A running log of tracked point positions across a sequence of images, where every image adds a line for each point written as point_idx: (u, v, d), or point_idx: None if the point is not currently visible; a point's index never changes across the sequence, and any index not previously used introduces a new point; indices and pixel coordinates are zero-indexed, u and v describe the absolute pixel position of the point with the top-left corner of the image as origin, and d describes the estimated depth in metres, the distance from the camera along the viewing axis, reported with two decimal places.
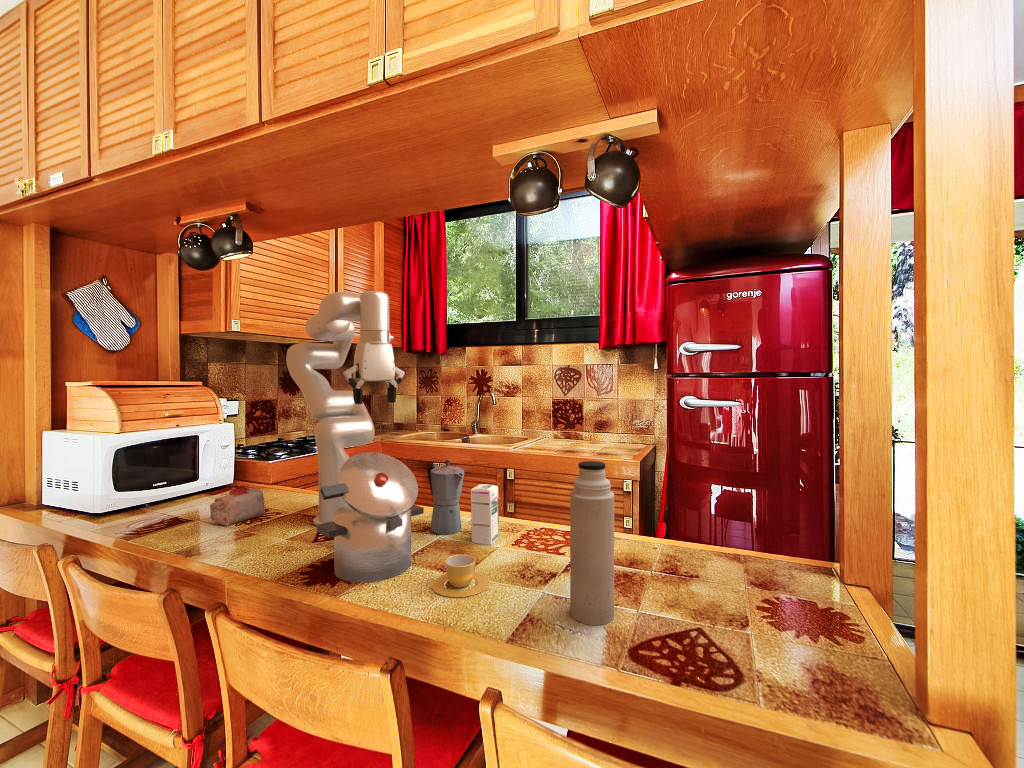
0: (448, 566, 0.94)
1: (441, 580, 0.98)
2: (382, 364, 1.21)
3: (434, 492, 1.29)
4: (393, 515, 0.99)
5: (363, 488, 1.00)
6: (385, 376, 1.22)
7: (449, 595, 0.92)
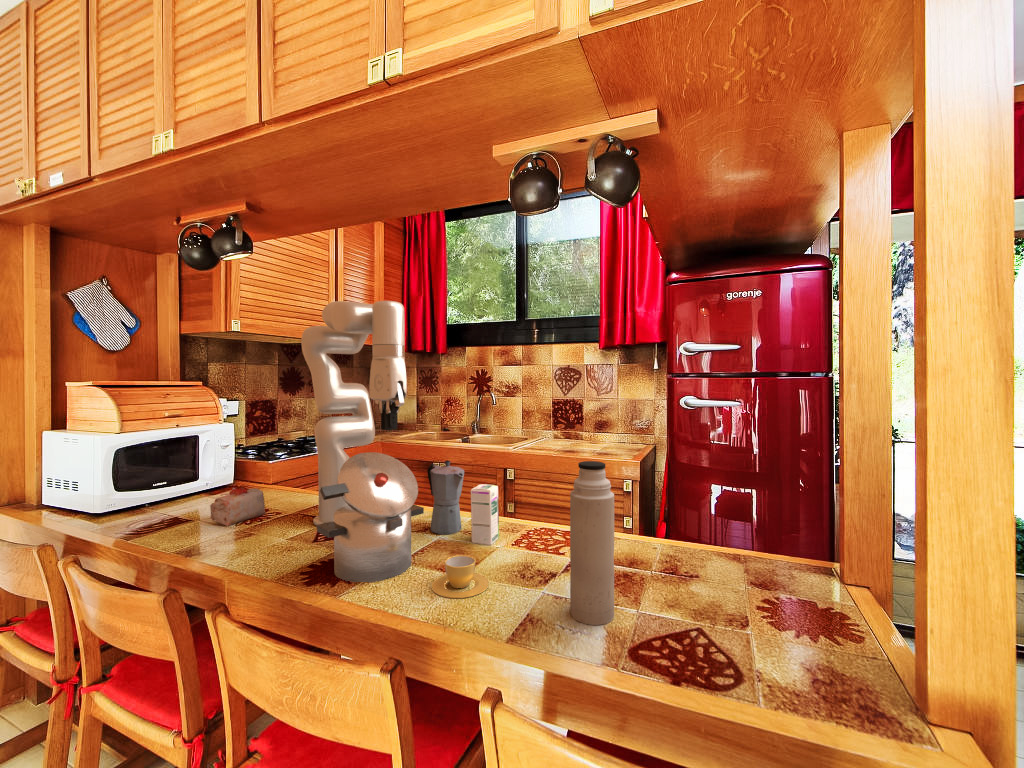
0: (448, 567, 0.94)
1: (441, 581, 0.98)
2: None
3: (434, 492, 1.29)
4: (393, 515, 0.99)
5: (363, 488, 1.00)
6: None
7: (449, 596, 0.91)
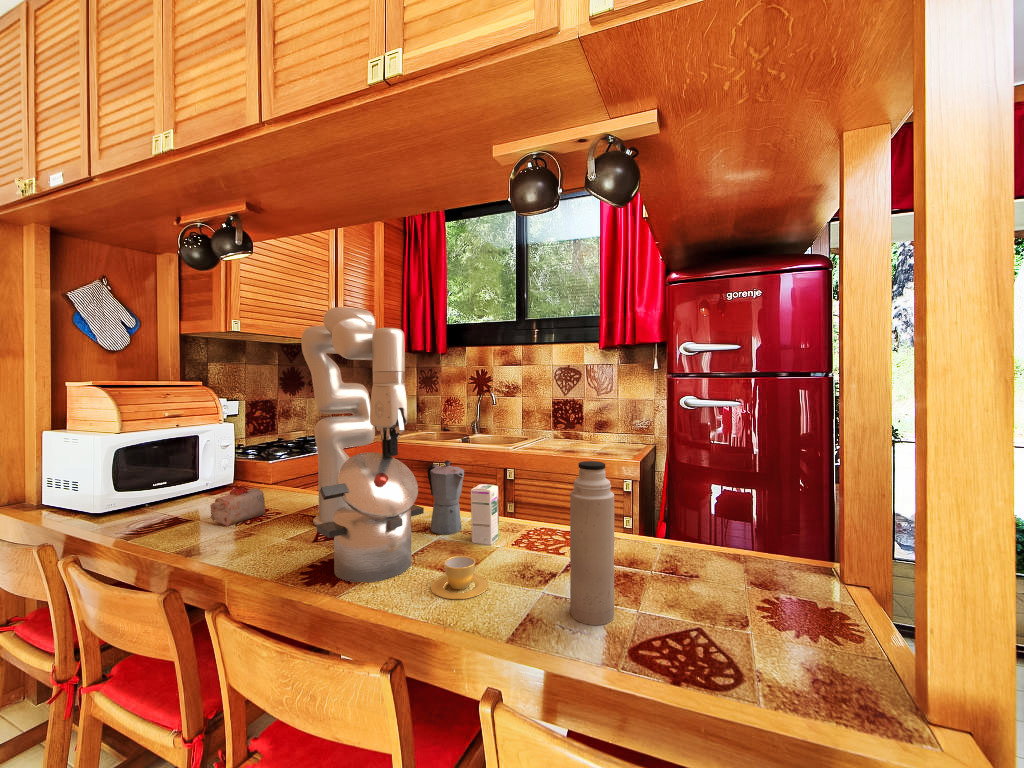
0: (448, 568, 0.94)
1: (440, 582, 0.97)
2: None
3: (434, 492, 1.29)
4: (393, 515, 0.99)
5: (363, 488, 1.00)
6: None
7: (449, 597, 0.91)
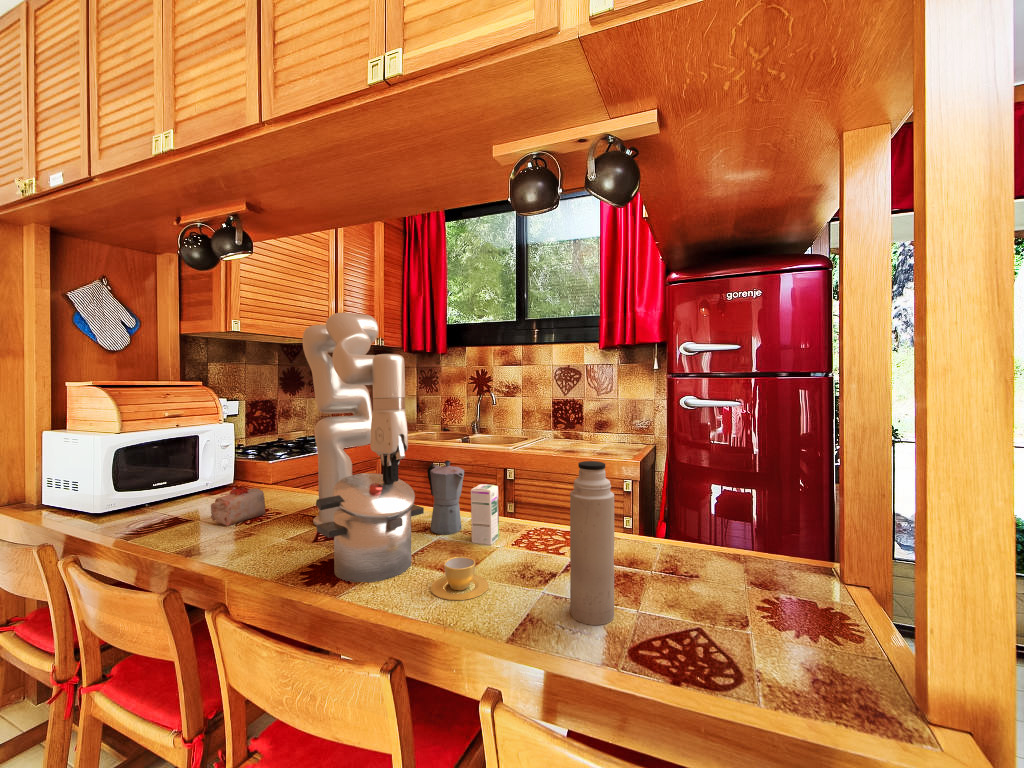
0: (448, 569, 0.93)
1: (440, 583, 0.97)
2: None
3: (434, 492, 1.29)
4: (392, 514, 0.99)
5: (359, 497, 1.02)
6: None
7: (449, 598, 0.91)
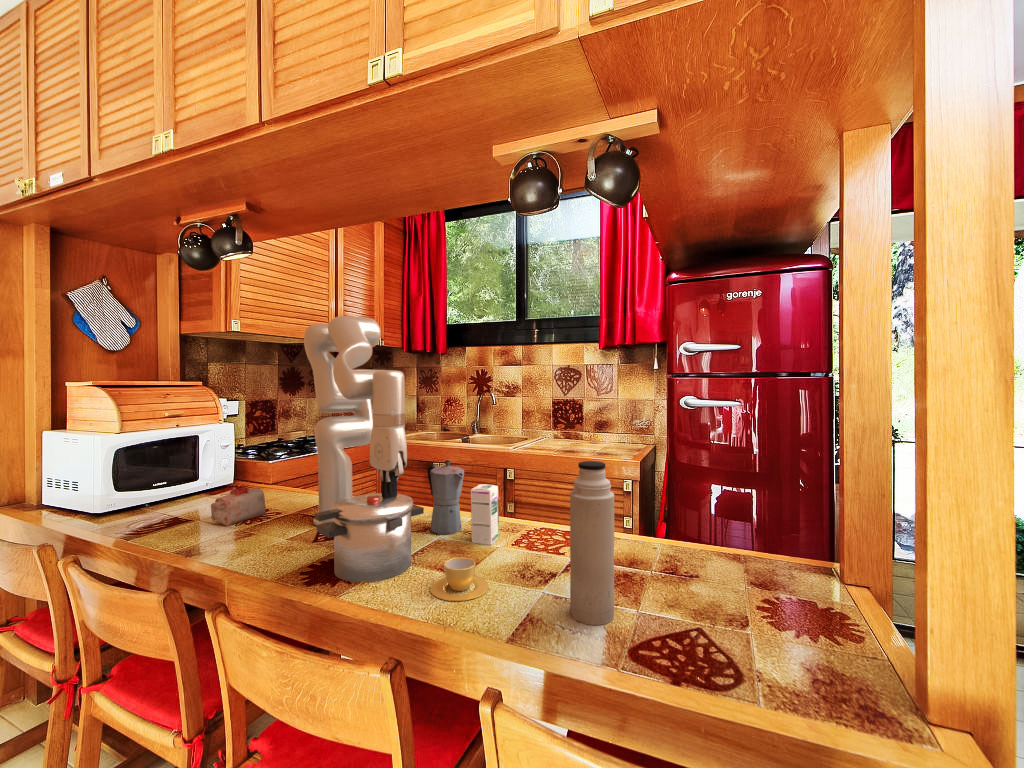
0: (447, 569, 0.93)
1: (440, 583, 0.97)
2: None
3: (434, 492, 1.29)
4: (391, 513, 0.99)
5: (357, 507, 1.02)
6: None
7: (449, 598, 0.90)
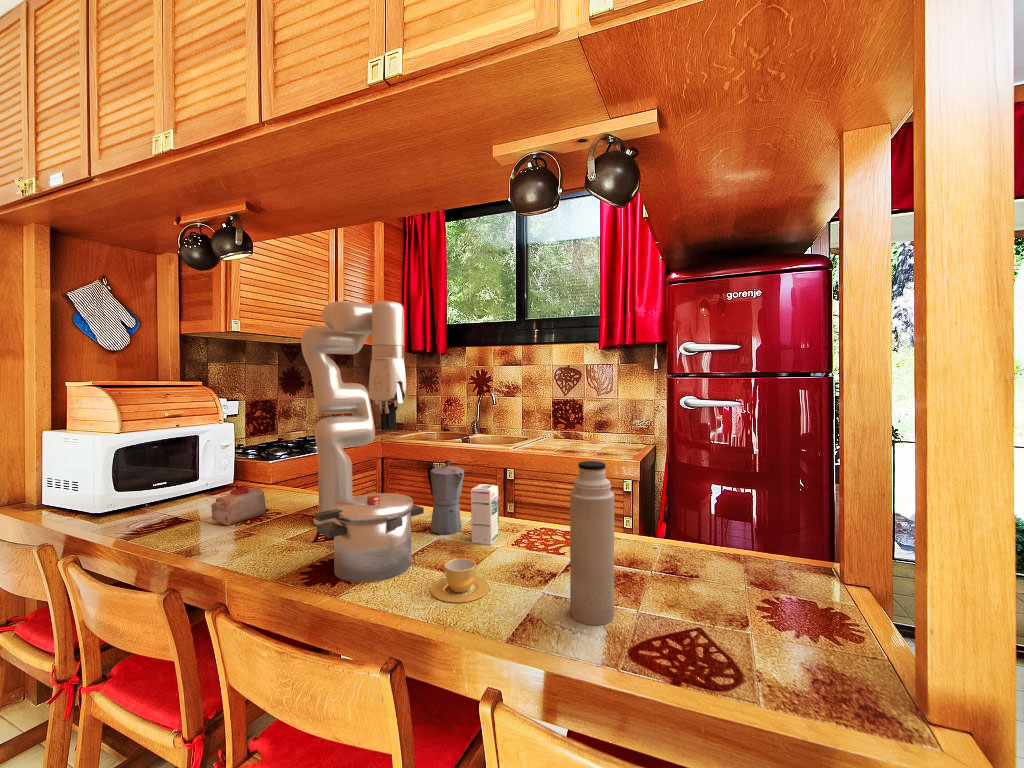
0: (448, 570, 0.92)
1: (440, 585, 0.96)
2: None
3: (434, 492, 1.29)
4: (391, 513, 0.99)
5: (357, 507, 1.02)
6: None
7: (449, 600, 0.90)
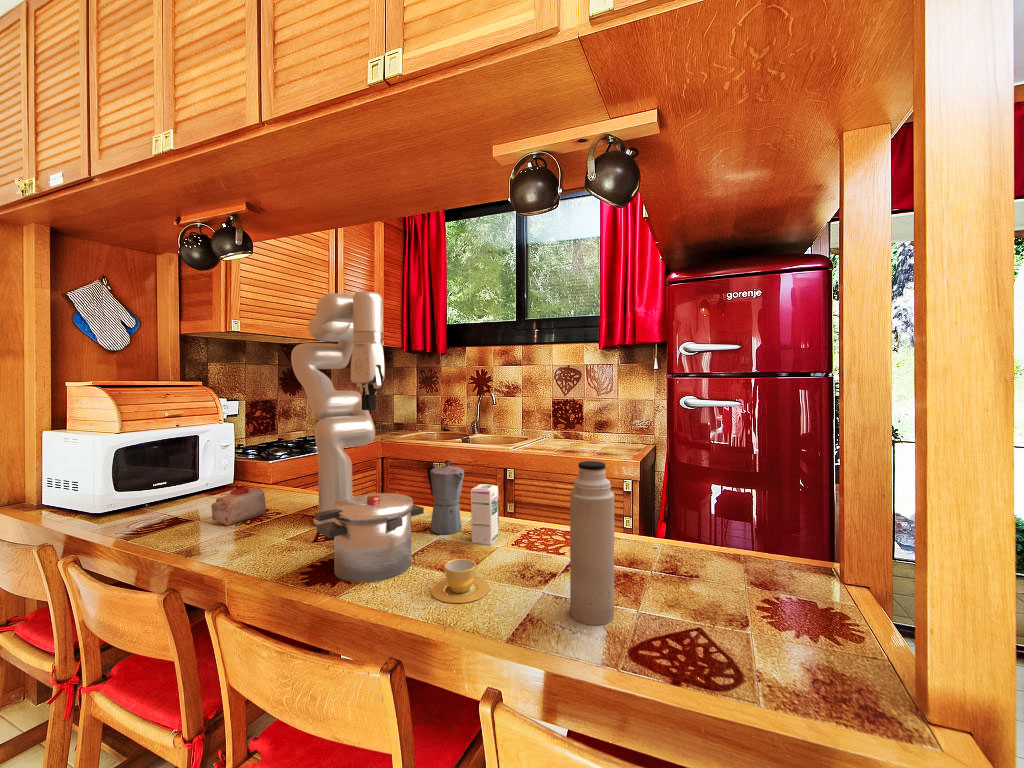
0: (448, 571, 0.92)
1: (440, 585, 0.96)
2: None
3: (434, 492, 1.29)
4: (391, 513, 0.99)
5: (357, 507, 1.02)
6: None
7: (449, 600, 0.89)
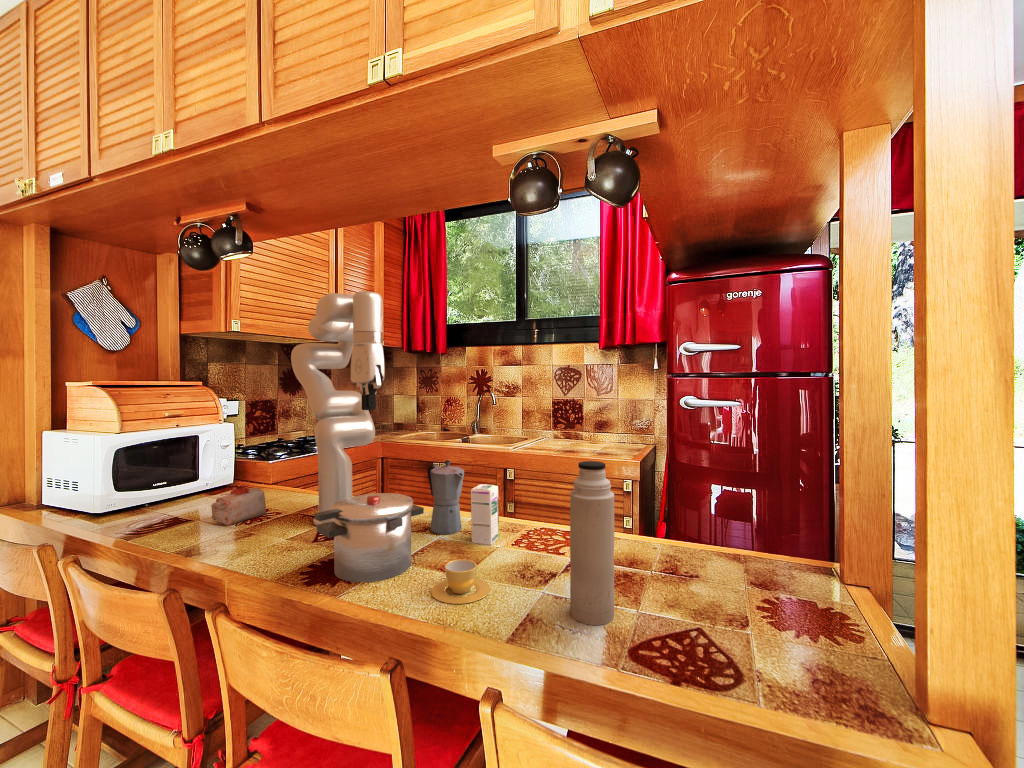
0: (448, 572, 0.92)
1: (441, 586, 0.95)
2: None
3: (434, 492, 1.29)
4: (391, 513, 0.99)
5: (357, 507, 1.02)
6: None
7: (450, 601, 0.89)
